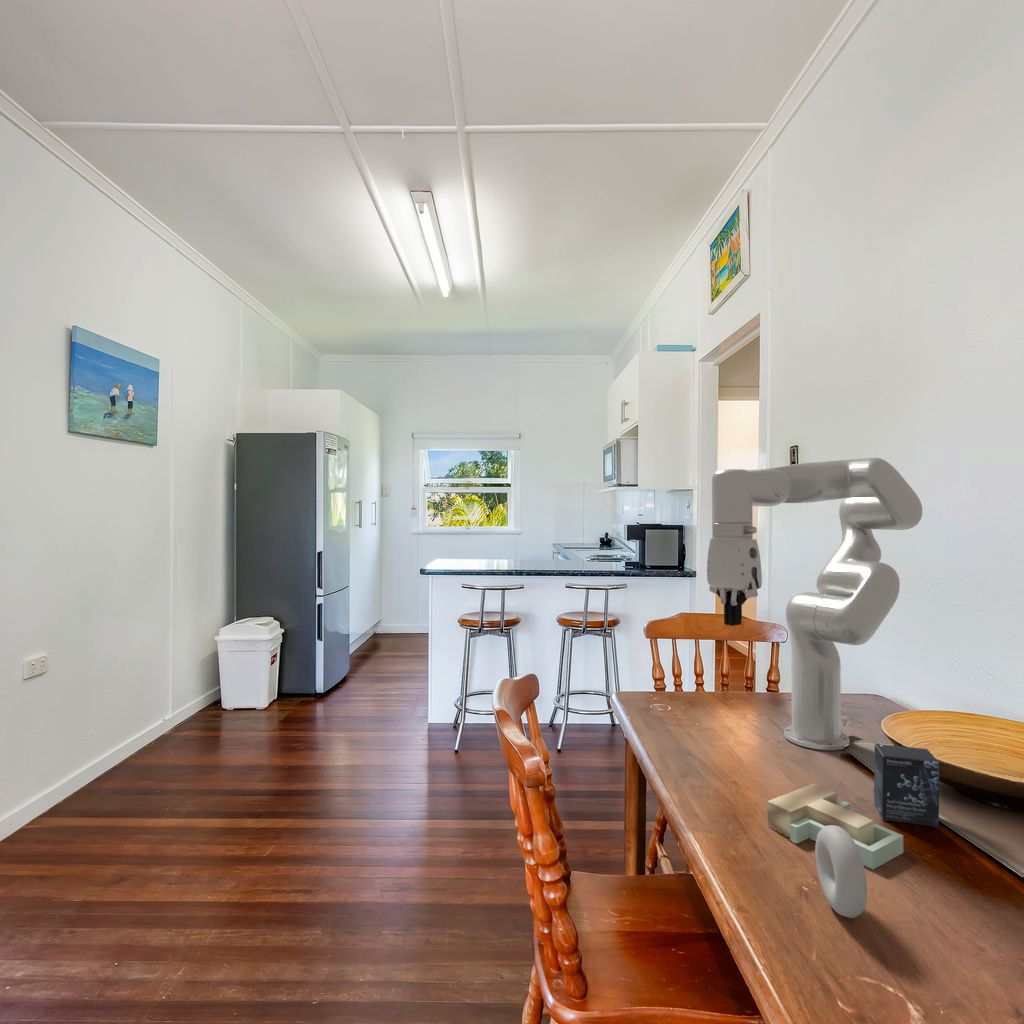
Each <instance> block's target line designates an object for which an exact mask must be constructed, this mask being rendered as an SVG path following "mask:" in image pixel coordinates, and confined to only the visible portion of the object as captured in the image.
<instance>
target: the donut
mask: <svg viewBox="0 0 1024 1024" xmlns="http://www.w3.org/2000/svg"><path fill="white" fill-rule="evenodd" d="M814 848H815V852H814V853H815V864H816V870H817V874H818V879H819V883H820V885H821V888H822V892H823V894H824V896H825V899H826V901H827V903H828V904H829V905H830V906H831V908H832V909H833V910H834V911H835V913H837V914H838V915H840V916H842V917H845V918H848V919H853V918H854V919H855V918H857V917H859V916H861V914H862V913H863V912H864V910H865V909H866V904H867V899H868V884H867V876H866V871H865V870H866V869H865V866H864V865H863V862H862V858H861V855H860V853H859V850H858V848H857V846H856V844H855V842H854V841H853V839H852V837H851V836H850V835H849V834H848V833H847V832H846V831H845V830H844V829H843V828H841V827H839V826H835V825H828V826H825V827H823V828H822V829H821V830H820V832H819V833H818V835H817V840H816V842H815V847H814Z"/></svg>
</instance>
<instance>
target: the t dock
mask: <svg viewBox="0 0 1024 1024" xmlns="http://www.w3.org/2000/svg"><path fill="white" fill-rule="evenodd" d="M836 805H838V806H840V807H843V808H845V809H847V810H850V811H851V803H850V802H847V801H845V800H844V801H840V802H839V803H838V802H837V804H836ZM823 827H825V826H824V825H822V824H820V823H817V822H815V821H813V820H811V819H809V818H807V817H806V818H804V819H802V820H799V821H797V822H795V823H793V824H790V839H789V840H791V841H792V842H791V841H790V842H791V843H793V842H794V843H793V844H795V843H796V844H795V845H798V844H800V843H802V842H804V841H807V840H811V839H812V840H811V841H813V840H814V841H813V842H815V841H816V840H817V835H818V833H819V832H820V830H821V829H822V828H823ZM808 838H810V839H808ZM806 839H807V840H806ZM803 840H804V841H803ZM801 841H802V842H801ZM853 841H854V842H855V844H856V846H857V848H858V850H859V853H860V855H861V858H862V862H863V865H864V867H866V868H868V869H870V870H875V869H877V868H879V867H880V866H882V865H884V864H886V863H887V862H890V861H892V860H893V859H895V858H897V857H899V856H900V855H902V854H904V835H903V834H900V833H898V832H896V831H894V830H891V829H889V828H886V827H884V826H881V825H880V824H877V823H875V822H874V844H873V845H871V846H868V845H865V844H863V843H861V842H859V841H857V840H855V839H853ZM797 843H798V844H797Z"/></svg>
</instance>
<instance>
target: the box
mask: <svg viewBox="0 0 1024 1024" xmlns="http://www.w3.org/2000/svg"><path fill="white" fill-rule="evenodd" d="M873 762H874V765H873V766H874V768H873V769H874V775H873V776H874V777H873V778H874V779H873V781H874V782H873V784H874V785H873V789H874V790H873V791H874V794H873V797H874V798H873V803H874V804H873V805H874V806H875V809H876V811H877V813H878V814H879V815H880V817H881V819H882V821H884V822H885V821H888V822H897V823H906V824H913V825H920V826H927V827H932V828H939V827H940V825H939V824H940V823H939V822H940V813H939V812H940V798H939V797H940V762H939V760H938V759H937V758H936V757H935V756H934V755H933V754H932V753H931V751H929V749H927V748H923V747H921V748H920V747H911V746H910V747H909V746H902V745H901V746H900V745H888V744H881V743H874V761H873Z"/></svg>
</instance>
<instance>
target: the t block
mask: <svg viewBox="0 0 1024 1024" xmlns="http://www.w3.org/2000/svg"><path fill="white" fill-rule="evenodd" d="M836 804H838V792H836V791H833V790H831V789H829V788H826V787H823V786H821V785H819V784H816V783H811V784H808V785H806V786H803V787H801V788H798V789H795V790H793V791H791V792H788V793H786V794H783V795H780V796H777V797H775V798H772V799H769V800H767V827H768V826H770V827H772V828H774V829H776V830H778V831H780V832H781V833H780V832H779V833H780V834H782V833H783V834H786V835H788V836H790V824H793V823H795V822H797V821H799V820H802V819H804V818H806V817H807V818H809V819H811V820H813V821H815V822H817V823H820V824H822V825H824V826H828V825H835V826H839V827H841V828H843V829H844V830H845V831H846V832H847V833H848V834H849V835H850V836H851V837H852V839H855V840H857V841H859V842H861V843H863V844H865V845H868V846H871V845H873V844H875V843H874V823H875V822H874V820H873V819H871V818H870V817H869V818H868V817H866V816H864V815H861V814H859V813H857V812H854V811H852V810H851V809H850V810H847V809H845V808H843V807H840V806H838V805H836ZM770 827H769V828H770ZM772 828H771V829H772ZM774 829H773V830H774ZM776 830H775V831H776ZM778 831H777V832H778ZM783 834H782V835H783Z"/></svg>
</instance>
